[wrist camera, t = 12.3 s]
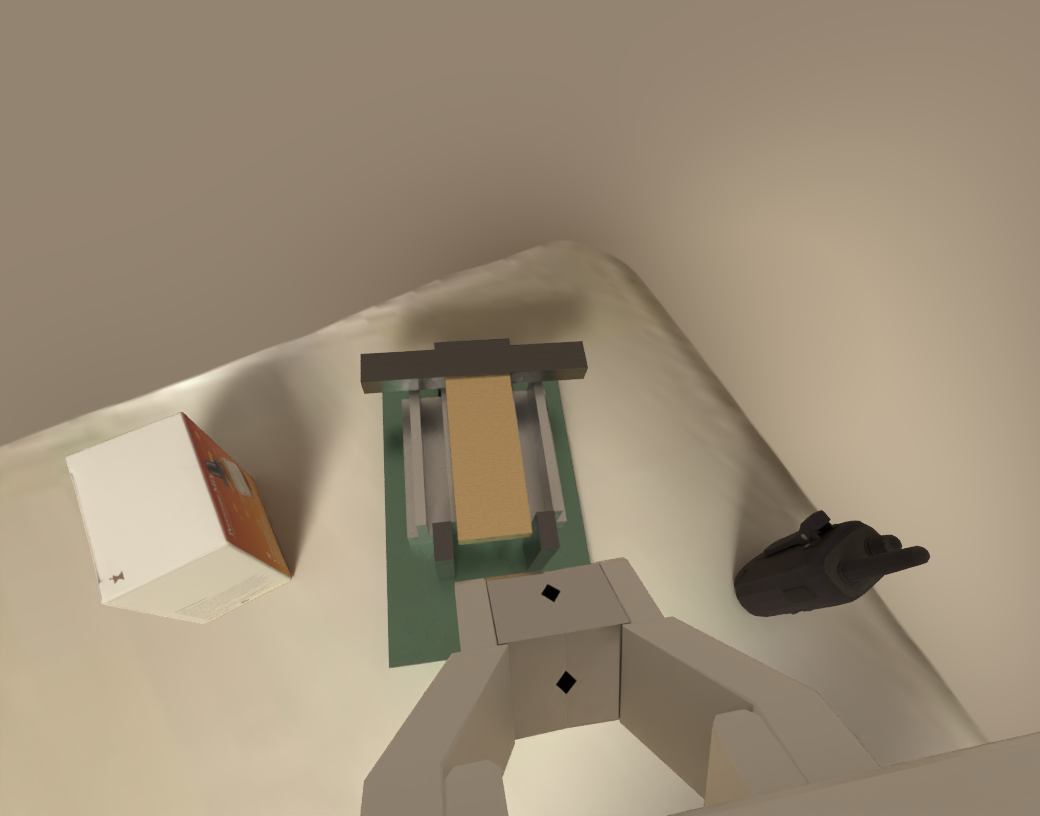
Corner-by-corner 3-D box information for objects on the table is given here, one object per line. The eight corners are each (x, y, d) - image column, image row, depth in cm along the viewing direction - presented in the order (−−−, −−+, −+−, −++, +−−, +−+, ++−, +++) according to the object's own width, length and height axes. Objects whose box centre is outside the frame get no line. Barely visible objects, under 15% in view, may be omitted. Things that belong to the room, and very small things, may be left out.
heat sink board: (599, 638, 35) (636, 630, 27) (391, 667, 33) (371, 667, 25) (552, 379, 43) (572, 318, 35) (384, 390, 41) (367, 328, 33)
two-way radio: (752, 629, 36) (928, 604, 22) (707, 571, 37) (847, 516, 24) (806, 581, 37) (999, 531, 24) (761, 528, 39) (920, 452, 25)
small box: (294, 580, 34) (231, 546, 25) (203, 627, 33) (98, 609, 23) (253, 474, 37) (182, 407, 28) (167, 512, 35) (60, 454, 26)
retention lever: (622, 521, 30) (582, 341, 35) (360, 550, 28) (360, 354, 33) (615, 528, 31) (578, 353, 36) (365, 556, 29) (364, 366, 34)
